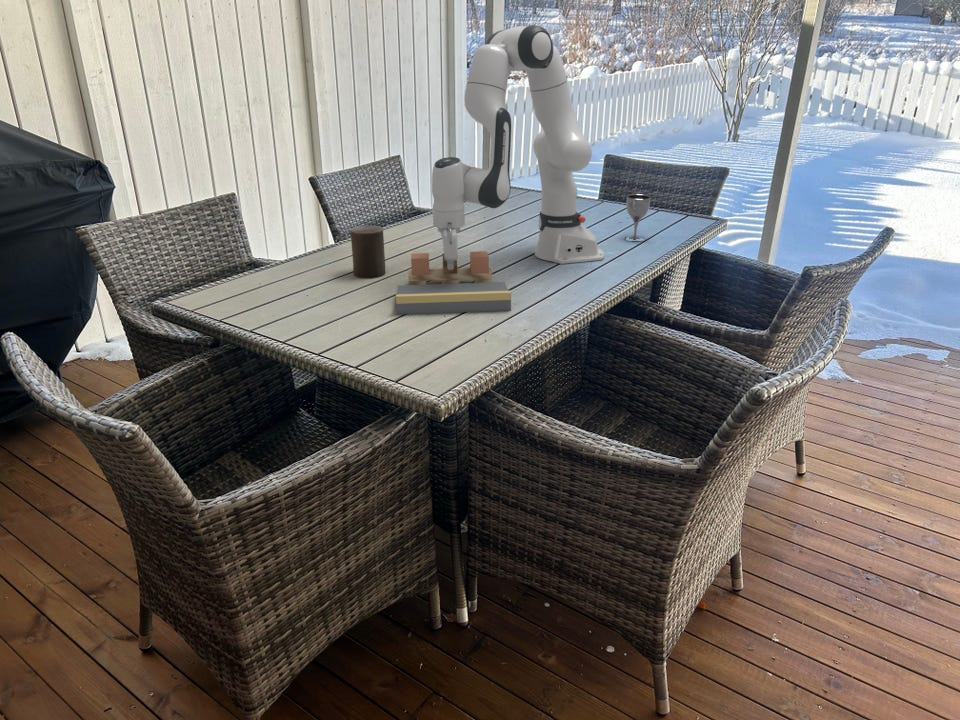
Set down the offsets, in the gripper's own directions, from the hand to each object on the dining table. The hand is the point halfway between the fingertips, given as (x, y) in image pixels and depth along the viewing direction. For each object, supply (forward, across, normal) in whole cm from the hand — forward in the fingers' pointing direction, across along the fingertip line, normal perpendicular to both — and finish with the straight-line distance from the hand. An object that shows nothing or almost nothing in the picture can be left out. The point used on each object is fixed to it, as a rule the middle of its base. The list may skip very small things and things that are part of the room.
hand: (450, 266), depth 194 cm
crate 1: (+2, 0, +8) cm, 9 cm away
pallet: (+6, 0, 0) cm, 6 cm away
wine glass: (+6, +41, -67) cm, 79 cm away
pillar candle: (+6, +13, +24) cm, 28 cm away
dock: (+6, -14, 0) cm, 16 cm away
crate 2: (+2, 0, -8) cm, 9 cm away
